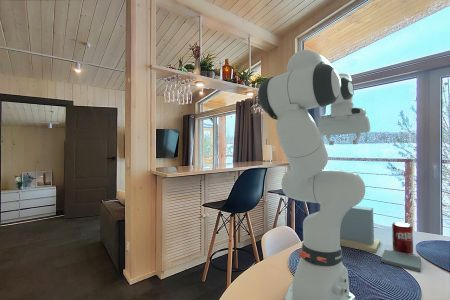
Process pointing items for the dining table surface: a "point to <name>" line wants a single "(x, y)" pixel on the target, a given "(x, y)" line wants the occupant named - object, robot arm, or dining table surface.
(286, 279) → the dining table surface
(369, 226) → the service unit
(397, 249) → the soda can
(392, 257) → the pad
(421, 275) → the dining table surface
